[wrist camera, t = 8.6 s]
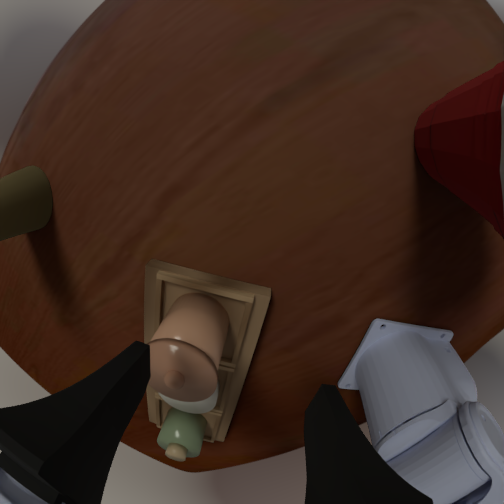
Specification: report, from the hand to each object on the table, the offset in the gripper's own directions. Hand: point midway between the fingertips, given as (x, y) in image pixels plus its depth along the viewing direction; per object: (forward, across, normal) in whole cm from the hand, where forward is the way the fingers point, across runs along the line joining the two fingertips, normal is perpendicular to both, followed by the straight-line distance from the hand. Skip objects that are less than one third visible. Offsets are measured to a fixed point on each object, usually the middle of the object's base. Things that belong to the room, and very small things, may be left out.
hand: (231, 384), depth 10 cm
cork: (+10, +21, -2) cm, 23 cm away
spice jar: (+9, +3, +4) cm, 10 cm away
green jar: (+9, +3, +18) cm, 20 cm away
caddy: (+10, +3, +11) cm, 15 cm away
